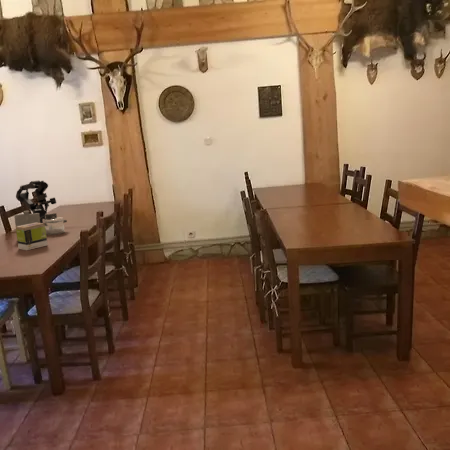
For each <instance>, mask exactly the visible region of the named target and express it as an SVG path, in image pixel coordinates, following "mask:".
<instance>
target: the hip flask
mask: <svg viewBox="0 0 450 450" xmlns="http://www.w3.org/2000/svg"><path fill="white" fill-rule="evenodd" d="M13 217H14V225H15V228H16V227H17V226H21V225H26V224H31V223H36V222H37V223H40V216H39V213H34V214H33V213H30V210H24V211H23V213H20V214H14V216H13ZM16 235H17V233H16ZM17 242H18V240H17Z"/></svg>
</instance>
